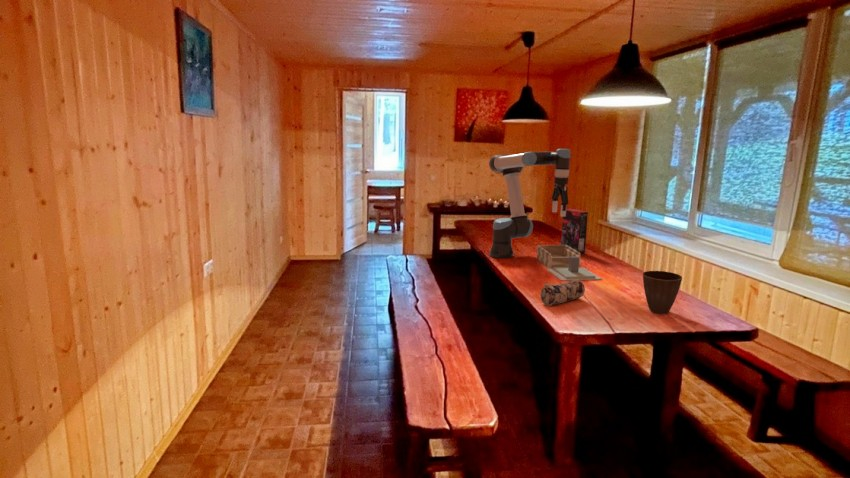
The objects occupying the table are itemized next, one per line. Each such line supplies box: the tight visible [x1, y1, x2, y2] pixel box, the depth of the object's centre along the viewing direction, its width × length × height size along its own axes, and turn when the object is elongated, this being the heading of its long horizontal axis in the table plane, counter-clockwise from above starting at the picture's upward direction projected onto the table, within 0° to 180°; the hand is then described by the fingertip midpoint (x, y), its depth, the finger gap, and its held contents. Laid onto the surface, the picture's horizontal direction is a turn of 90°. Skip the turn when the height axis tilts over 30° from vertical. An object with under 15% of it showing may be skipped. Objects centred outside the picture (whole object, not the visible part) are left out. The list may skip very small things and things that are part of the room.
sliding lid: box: [552, 256, 596, 279], centre depth 260 cm, size 20×16×9 cm
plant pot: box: [642, 270, 683, 315], centre depth 203 cm, size 15×15×16 cm
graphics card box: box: [560, 208, 589, 254], centre depth 313 cm, size 17×7×27 cm, turn 25°
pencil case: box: [540, 279, 586, 307], centre depth 217 cm, size 22×8×10 cm, turn 124°
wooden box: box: [536, 244, 582, 269], centre depth 283 cm, size 22×18×9 cm
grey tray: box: [546, 267, 603, 282], centre depth 261 cm, size 22×22×1 cm
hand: (558, 214), depth 273 cm, fingers open, 13 cm apart
